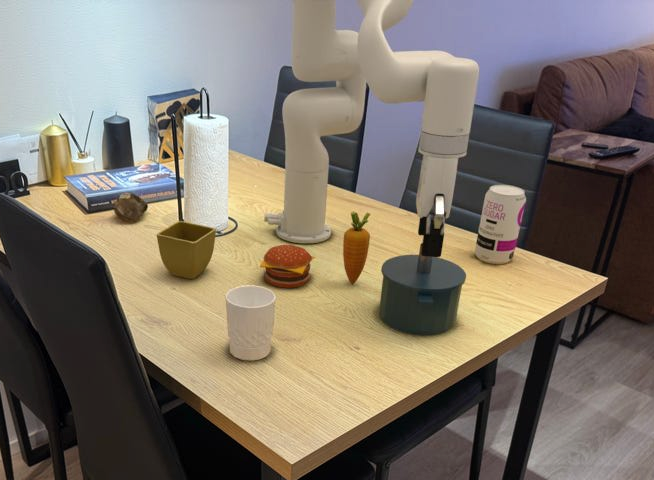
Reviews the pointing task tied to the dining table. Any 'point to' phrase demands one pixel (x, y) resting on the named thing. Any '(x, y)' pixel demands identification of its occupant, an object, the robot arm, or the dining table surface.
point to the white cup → (250, 321)
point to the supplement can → (500, 224)
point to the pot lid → (423, 273)
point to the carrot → (355, 247)
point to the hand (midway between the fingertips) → (428, 245)
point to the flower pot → (186, 248)
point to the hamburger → (287, 266)
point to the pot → (418, 309)
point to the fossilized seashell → (129, 207)
